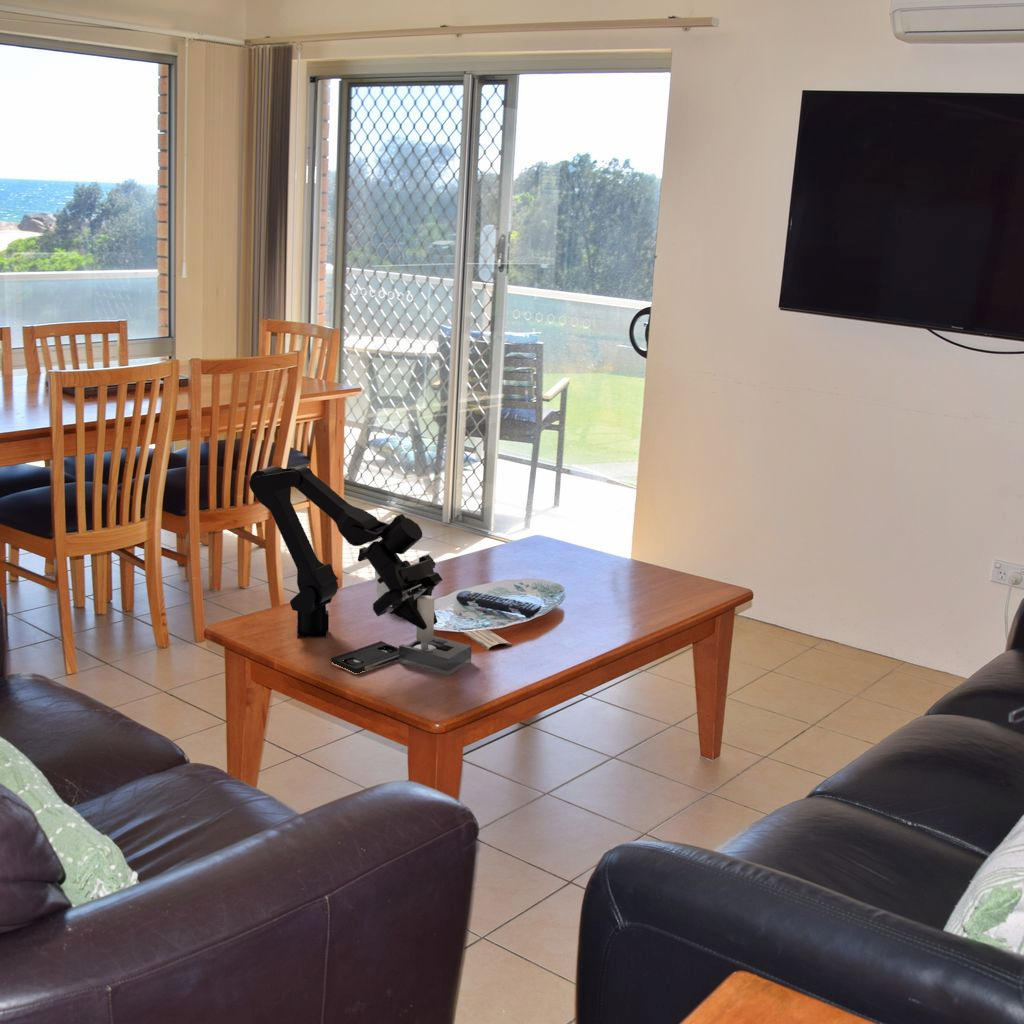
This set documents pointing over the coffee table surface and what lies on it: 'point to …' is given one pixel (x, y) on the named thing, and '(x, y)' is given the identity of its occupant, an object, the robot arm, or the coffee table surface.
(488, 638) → the newspaper
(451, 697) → the coffee table surface
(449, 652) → the keyhole plate
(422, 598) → the post
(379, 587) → the white cup
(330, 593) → the robot arm
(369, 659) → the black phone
